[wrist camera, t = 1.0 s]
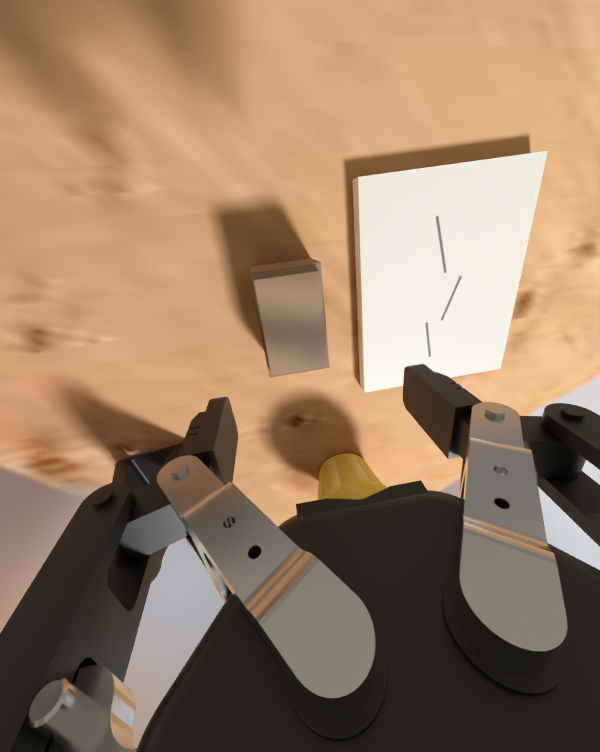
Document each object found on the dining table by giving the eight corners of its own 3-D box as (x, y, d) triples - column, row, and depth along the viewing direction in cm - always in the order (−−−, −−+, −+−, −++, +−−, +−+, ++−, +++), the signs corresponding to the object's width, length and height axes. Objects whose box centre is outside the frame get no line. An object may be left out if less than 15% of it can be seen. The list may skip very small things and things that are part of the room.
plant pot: (297, 497, 40) (307, 569, 31) (313, 438, 35) (329, 504, 27) (366, 499, 42) (393, 568, 33) (388, 444, 37) (426, 507, 29)
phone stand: (189, 441, 33) (155, 537, 23) (209, 476, 36) (187, 576, 25) (117, 461, 33) (48, 566, 23) (142, 494, 36) (91, 602, 25)
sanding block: (251, 266, 26) (248, 273, 21) (310, 257, 26) (322, 263, 21) (268, 355, 30) (269, 381, 25) (319, 347, 30) (331, 371, 25)
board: (352, 180, 24) (358, 176, 22) (531, 155, 24) (547, 150, 23) (359, 385, 33) (364, 392, 31) (490, 362, 34) (500, 368, 32)
